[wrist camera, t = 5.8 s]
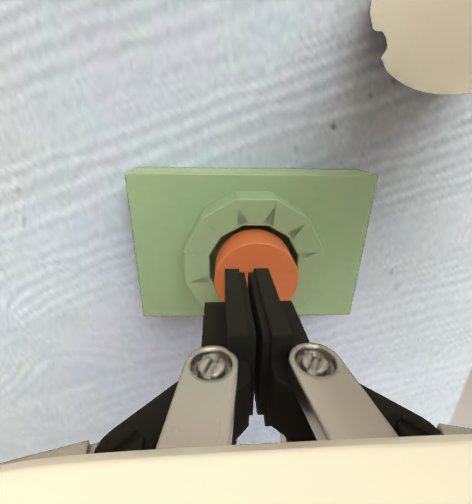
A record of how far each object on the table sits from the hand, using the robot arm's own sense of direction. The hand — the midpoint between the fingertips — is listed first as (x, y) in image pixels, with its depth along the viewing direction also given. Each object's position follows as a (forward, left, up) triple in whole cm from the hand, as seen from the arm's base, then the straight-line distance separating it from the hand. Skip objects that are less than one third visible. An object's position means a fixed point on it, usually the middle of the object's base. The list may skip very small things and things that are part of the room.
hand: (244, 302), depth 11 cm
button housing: (+1, 0, -7) cm, 7 cm away
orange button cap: (+1, 0, -3) cm, 3 cm away
